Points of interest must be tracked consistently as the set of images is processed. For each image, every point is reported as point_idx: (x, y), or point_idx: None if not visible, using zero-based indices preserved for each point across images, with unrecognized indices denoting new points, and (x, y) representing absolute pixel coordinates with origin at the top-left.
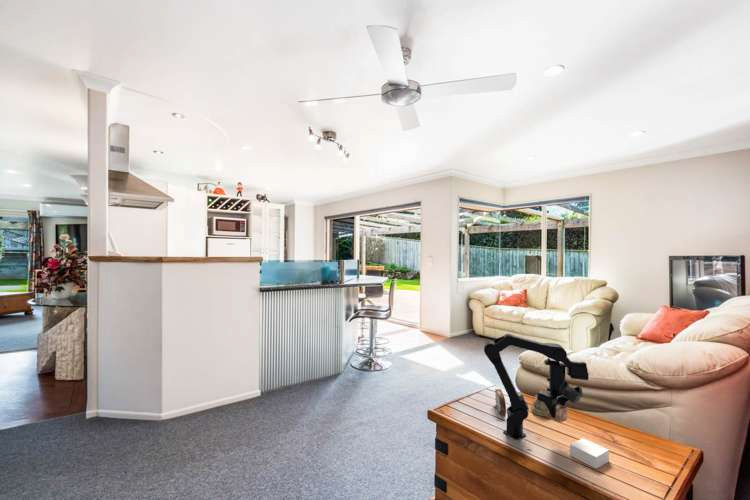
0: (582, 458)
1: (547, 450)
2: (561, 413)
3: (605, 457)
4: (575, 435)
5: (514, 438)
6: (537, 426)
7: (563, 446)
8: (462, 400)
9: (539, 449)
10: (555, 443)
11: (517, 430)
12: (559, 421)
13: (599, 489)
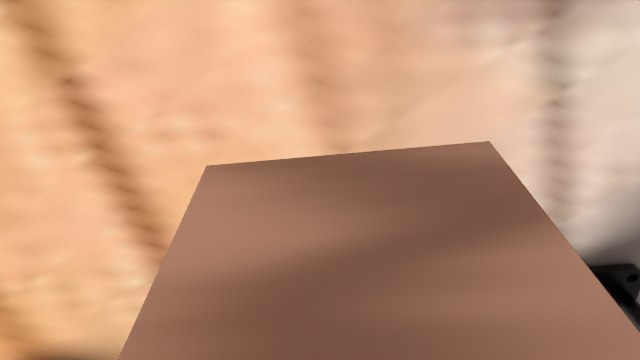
0: None
1: (585, 43)
2: (493, 278)
3: None
4: (21, 113)
5: (636, 279)
6: None
7: (351, 23)
8: None
9: (632, 89)
10: (374, 97)
11: (635, 326)
12: (498, 162)
13: None
